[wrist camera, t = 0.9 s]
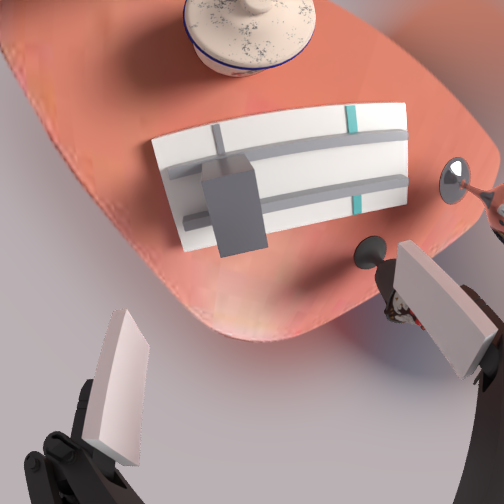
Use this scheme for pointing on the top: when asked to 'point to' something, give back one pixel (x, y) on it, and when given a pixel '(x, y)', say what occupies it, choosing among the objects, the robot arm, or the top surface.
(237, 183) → the fader tab
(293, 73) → the top surface
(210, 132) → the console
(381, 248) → the sundae
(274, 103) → the top surface
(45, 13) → the top surface
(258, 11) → the teacup with lid
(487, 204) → the wine glass
